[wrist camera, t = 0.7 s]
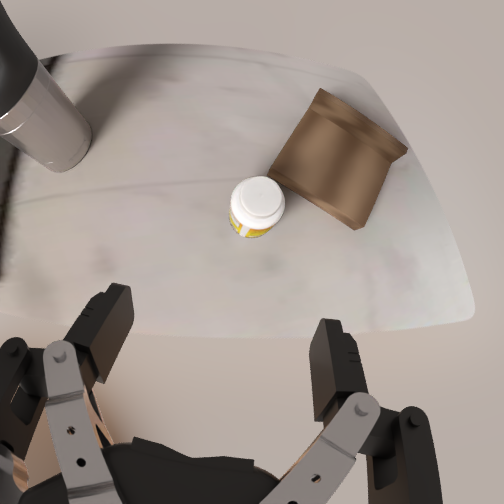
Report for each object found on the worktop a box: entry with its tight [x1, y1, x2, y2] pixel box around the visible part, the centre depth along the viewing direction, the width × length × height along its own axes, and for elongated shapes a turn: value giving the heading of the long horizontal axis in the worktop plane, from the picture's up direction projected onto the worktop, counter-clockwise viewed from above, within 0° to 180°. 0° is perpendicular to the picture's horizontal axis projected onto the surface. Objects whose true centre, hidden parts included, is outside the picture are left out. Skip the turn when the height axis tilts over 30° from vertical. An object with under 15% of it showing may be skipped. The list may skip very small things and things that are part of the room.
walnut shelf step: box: [267, 88, 408, 230], centre depth 35 cm, size 14×12×7 cm
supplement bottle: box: [229, 176, 285, 238], centre depth 32 cm, size 6×6×10 cm
